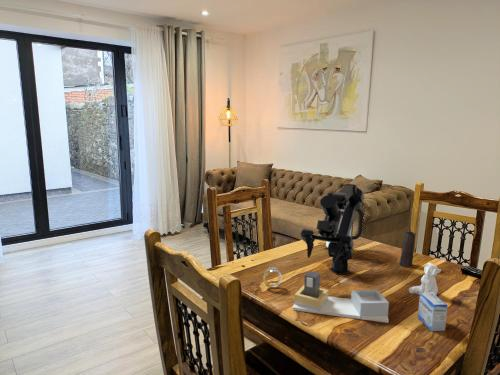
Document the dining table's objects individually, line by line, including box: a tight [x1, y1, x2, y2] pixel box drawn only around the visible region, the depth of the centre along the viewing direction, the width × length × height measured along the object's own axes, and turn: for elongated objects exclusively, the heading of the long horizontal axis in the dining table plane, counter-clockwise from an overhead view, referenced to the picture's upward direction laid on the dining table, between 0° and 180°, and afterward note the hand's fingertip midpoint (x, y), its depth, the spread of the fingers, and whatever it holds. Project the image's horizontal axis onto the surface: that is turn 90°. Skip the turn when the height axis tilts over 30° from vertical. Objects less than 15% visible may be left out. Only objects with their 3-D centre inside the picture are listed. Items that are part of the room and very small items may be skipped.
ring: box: [262, 266, 283, 288], centre depth 137 cm, size 7×3×8 cm, turn 89°
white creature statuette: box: [408, 262, 442, 296], centre depth 131 cm, size 10×9×12 cm
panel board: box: [292, 296, 389, 324], centre depth 123 cm, size 30×11×1 cm, turn 75°
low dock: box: [293, 284, 330, 315], centre depth 125 cm, size 9×9×4 cm
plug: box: [303, 270, 321, 298], centre depth 124 cm, size 5×4×9 cm
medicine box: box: [417, 293, 448, 332], centre depth 112 cm, size 8×4×9 cm, turn 5°
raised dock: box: [350, 289, 390, 320], centre depth 120 cm, size 9×9×6 cm
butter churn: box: [399, 201, 416, 268], centre depth 157 cm, size 9×10×28 cm
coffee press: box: [322, 208, 364, 253], centre depth 176 cm, size 17×16×30 cm
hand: (320, 260), depth 129 cm, fingers open, 9 cm apart
